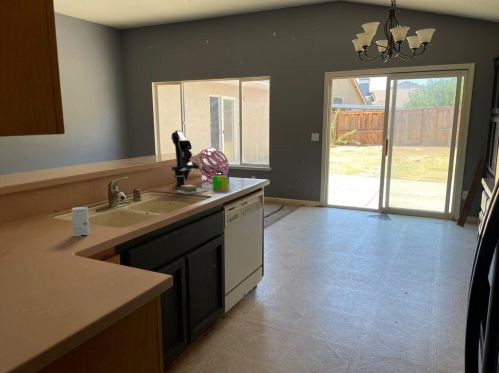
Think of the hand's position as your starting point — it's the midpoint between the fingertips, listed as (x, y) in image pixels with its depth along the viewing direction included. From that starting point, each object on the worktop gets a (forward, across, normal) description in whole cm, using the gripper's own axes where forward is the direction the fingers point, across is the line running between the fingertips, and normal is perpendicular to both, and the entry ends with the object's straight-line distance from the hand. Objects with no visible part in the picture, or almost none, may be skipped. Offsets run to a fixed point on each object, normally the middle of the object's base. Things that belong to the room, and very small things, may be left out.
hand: (185, 179), depth 256 cm
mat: (+8, +1, -6) cm, 10 cm away
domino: (+6, 0, +2) cm, 6 cm away
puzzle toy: (+8, +21, -13) cm, 26 cm away
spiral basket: (+8, +34, +18) cm, 39 cm away
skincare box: (+8, -84, -62) cm, 105 cm away
